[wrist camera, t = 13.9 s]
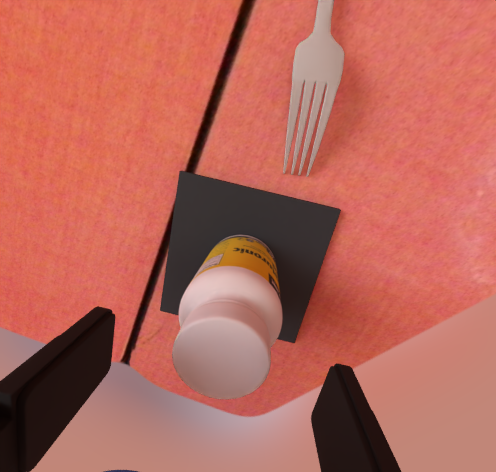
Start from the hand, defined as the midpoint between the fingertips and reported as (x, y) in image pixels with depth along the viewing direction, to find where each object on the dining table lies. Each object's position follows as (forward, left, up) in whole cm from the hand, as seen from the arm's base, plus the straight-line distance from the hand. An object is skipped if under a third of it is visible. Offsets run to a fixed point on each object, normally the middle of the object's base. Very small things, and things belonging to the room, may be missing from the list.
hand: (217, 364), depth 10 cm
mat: (+1, 0, -10) cm, 10 cm away
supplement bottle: (+1, 0, -10) cm, 10 cm away
